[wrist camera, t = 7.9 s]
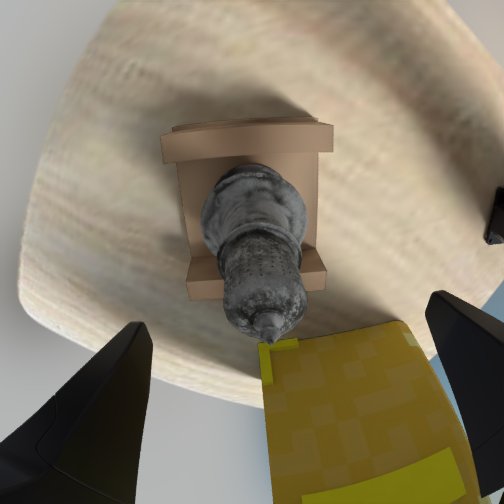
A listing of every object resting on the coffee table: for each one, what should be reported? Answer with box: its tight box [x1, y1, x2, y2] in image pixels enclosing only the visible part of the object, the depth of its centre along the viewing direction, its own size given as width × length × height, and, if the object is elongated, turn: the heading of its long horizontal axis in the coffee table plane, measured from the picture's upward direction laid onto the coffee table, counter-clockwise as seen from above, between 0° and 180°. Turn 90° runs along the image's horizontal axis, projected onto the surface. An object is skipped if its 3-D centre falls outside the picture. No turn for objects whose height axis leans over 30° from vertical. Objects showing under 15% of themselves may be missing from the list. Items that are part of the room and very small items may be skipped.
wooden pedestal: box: [160, 117, 333, 300], centre depth 17 cm, size 9×11×4 cm
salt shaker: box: [200, 164, 308, 345], centre depth 13 cm, size 6×6×12 cm
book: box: [258, 321, 491, 504], centre depth 17 cm, size 17×7×25 cm, turn 97°
